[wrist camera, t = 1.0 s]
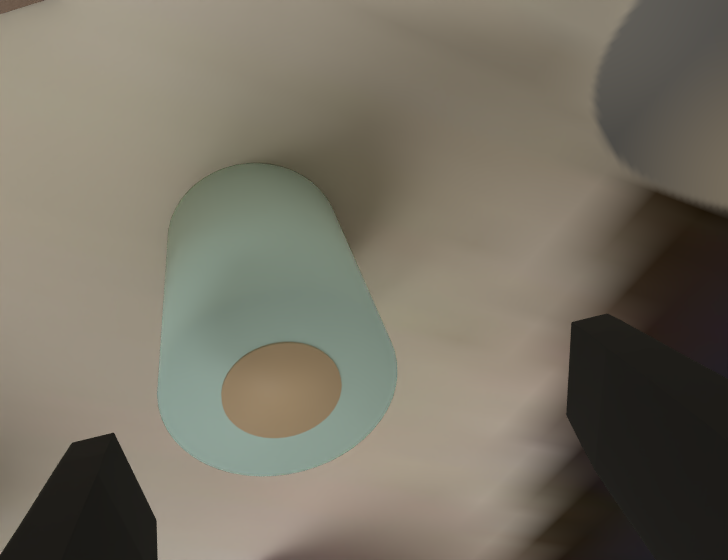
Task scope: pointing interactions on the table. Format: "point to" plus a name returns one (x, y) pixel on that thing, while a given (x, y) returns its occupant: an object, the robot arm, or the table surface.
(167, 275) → the roll
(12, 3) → the holder
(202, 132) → the table surface
